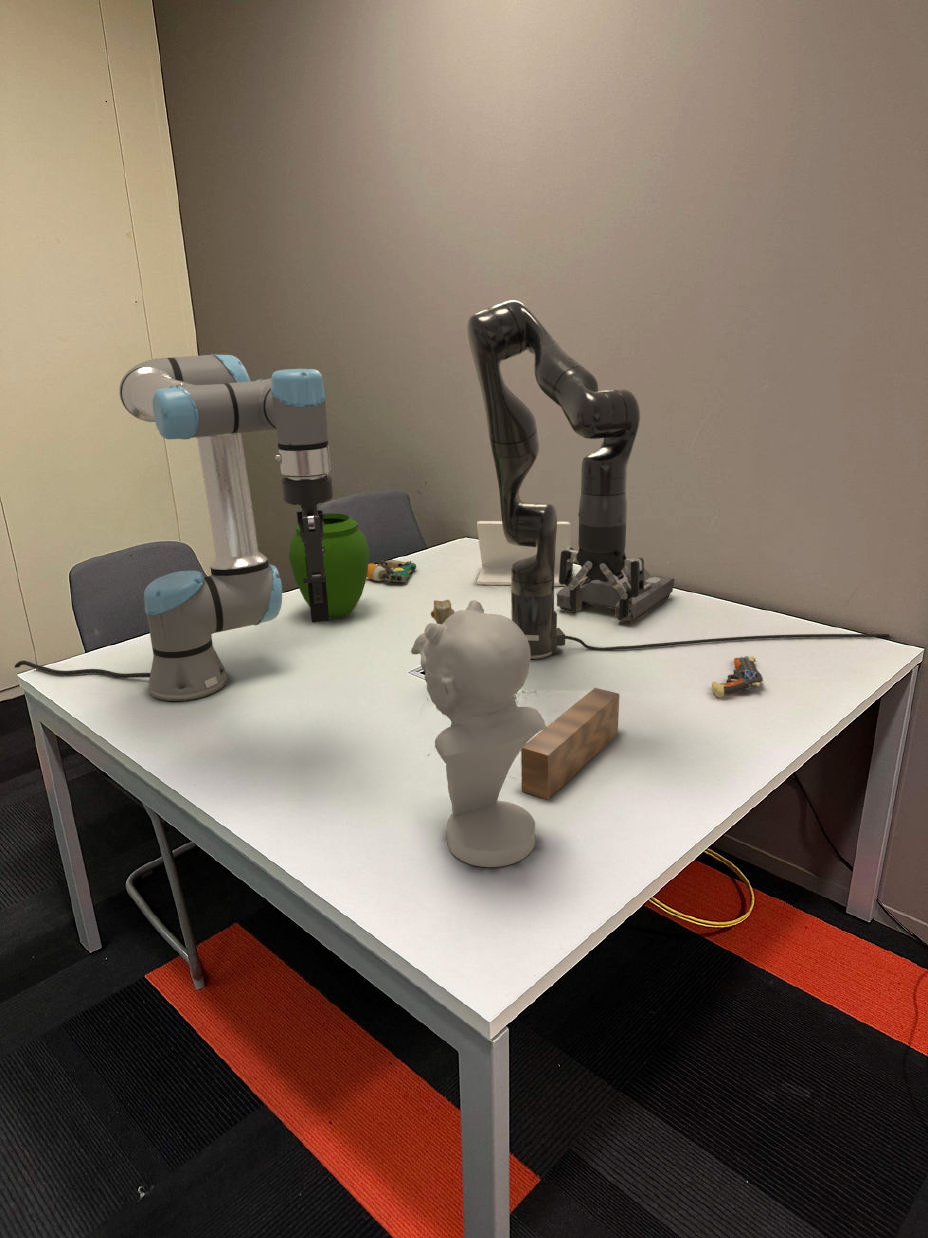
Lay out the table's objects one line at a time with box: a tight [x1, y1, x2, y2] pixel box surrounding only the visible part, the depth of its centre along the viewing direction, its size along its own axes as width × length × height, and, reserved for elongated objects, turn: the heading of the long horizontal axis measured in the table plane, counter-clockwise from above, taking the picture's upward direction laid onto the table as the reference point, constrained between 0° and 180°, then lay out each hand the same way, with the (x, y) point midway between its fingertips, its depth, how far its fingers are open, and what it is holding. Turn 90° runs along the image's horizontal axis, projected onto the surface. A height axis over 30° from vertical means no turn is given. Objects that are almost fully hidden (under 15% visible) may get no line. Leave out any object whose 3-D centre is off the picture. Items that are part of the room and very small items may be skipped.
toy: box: [556, 554, 676, 624], centre depth 212 cm, size 25×20×15 cm
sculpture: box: [430, 599, 456, 624], centre depth 177 cm, size 6×7×15 cm
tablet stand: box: [476, 520, 571, 587], centre depth 236 cm, size 18×25×17 cm
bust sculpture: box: [410, 599, 547, 868], centre depth 121 cm, size 16×24×35 cm
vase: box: [288, 512, 370, 620], centre depth 209 cm, size 20×20×24 cm
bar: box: [520, 687, 620, 801], centre depth 142 cm, size 25×5×8 cm, turn 145°
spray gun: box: [367, 559, 417, 583], centre depth 241 cm, size 4×17×15 cm
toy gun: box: [711, 655, 765, 698], centre depth 171 cm, size 3×19×10 cm
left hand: (318, 606), depth 137 cm, fingers open, 13 cm apart
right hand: (599, 614), depth 142 cm, fingers open, 8 cm apart
